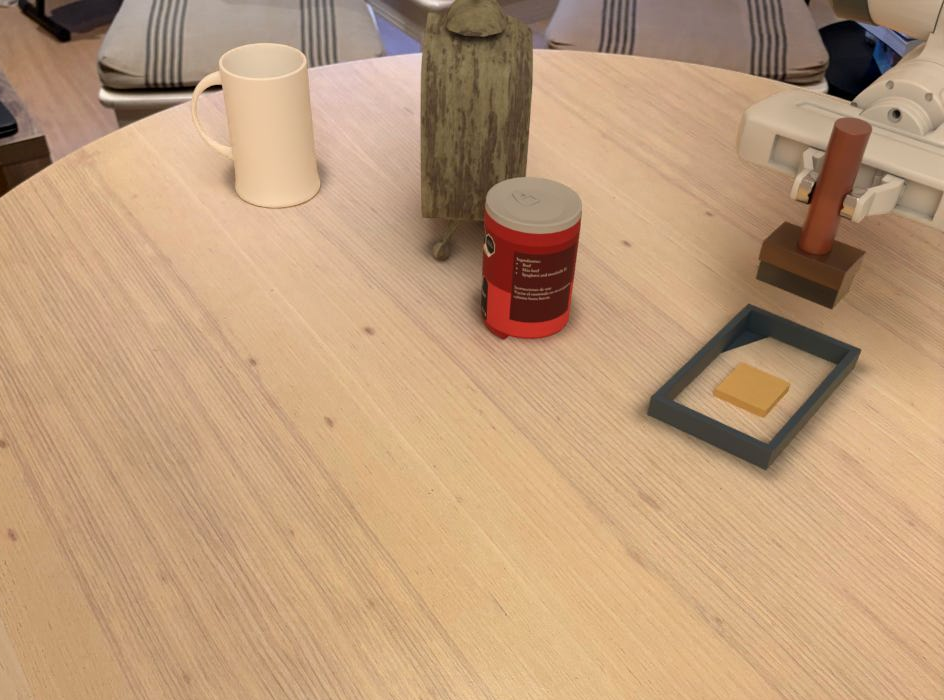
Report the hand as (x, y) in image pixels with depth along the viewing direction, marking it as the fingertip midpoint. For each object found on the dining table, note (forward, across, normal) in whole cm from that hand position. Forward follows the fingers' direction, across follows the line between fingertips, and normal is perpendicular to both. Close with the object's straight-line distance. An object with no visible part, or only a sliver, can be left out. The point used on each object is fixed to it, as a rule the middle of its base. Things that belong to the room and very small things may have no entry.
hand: (825, 201), depth 74 cm
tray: (+4, 0, +15) cm, 16 cm away
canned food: (+7, -20, +15) cm, 27 cm away
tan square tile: (+5, 0, +14) cm, 15 cm away
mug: (+5, -55, +16) cm, 57 cm away
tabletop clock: (-2, -33, +16) cm, 37 cm away
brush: (-1, 0, +7) cm, 7 cm away
